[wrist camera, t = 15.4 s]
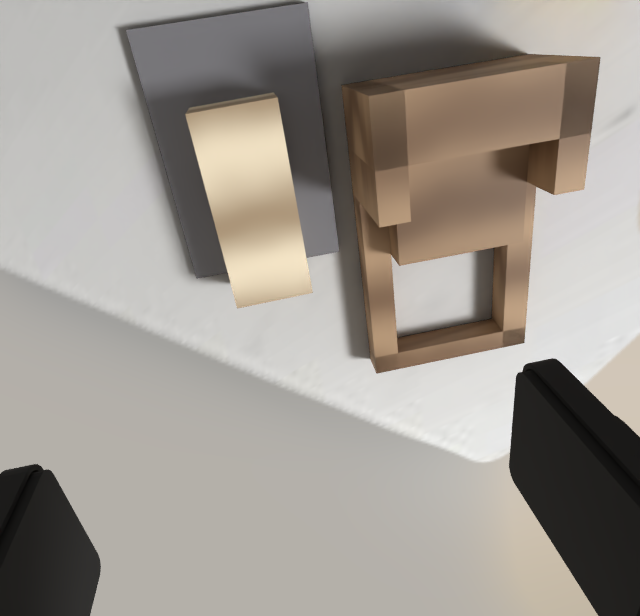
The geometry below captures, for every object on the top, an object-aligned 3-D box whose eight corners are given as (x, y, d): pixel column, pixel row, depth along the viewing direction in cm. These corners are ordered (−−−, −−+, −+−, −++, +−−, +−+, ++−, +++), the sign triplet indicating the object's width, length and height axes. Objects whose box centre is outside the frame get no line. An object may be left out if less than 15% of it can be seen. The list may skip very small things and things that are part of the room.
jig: (341, 85, 30) (368, 95, 24) (528, 54, 31) (600, 57, 25) (370, 359, 40) (395, 415, 34) (511, 330, 41) (560, 380, 35)
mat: (127, 30, 27) (125, 30, 27) (306, 3, 28) (307, 2, 28) (197, 274, 35) (196, 278, 34) (337, 248, 35) (339, 251, 35)
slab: (189, 107, 29) (185, 114, 27) (273, 92, 29) (277, 97, 27) (236, 288, 35) (237, 308, 32) (306, 274, 35) (312, 292, 33)
